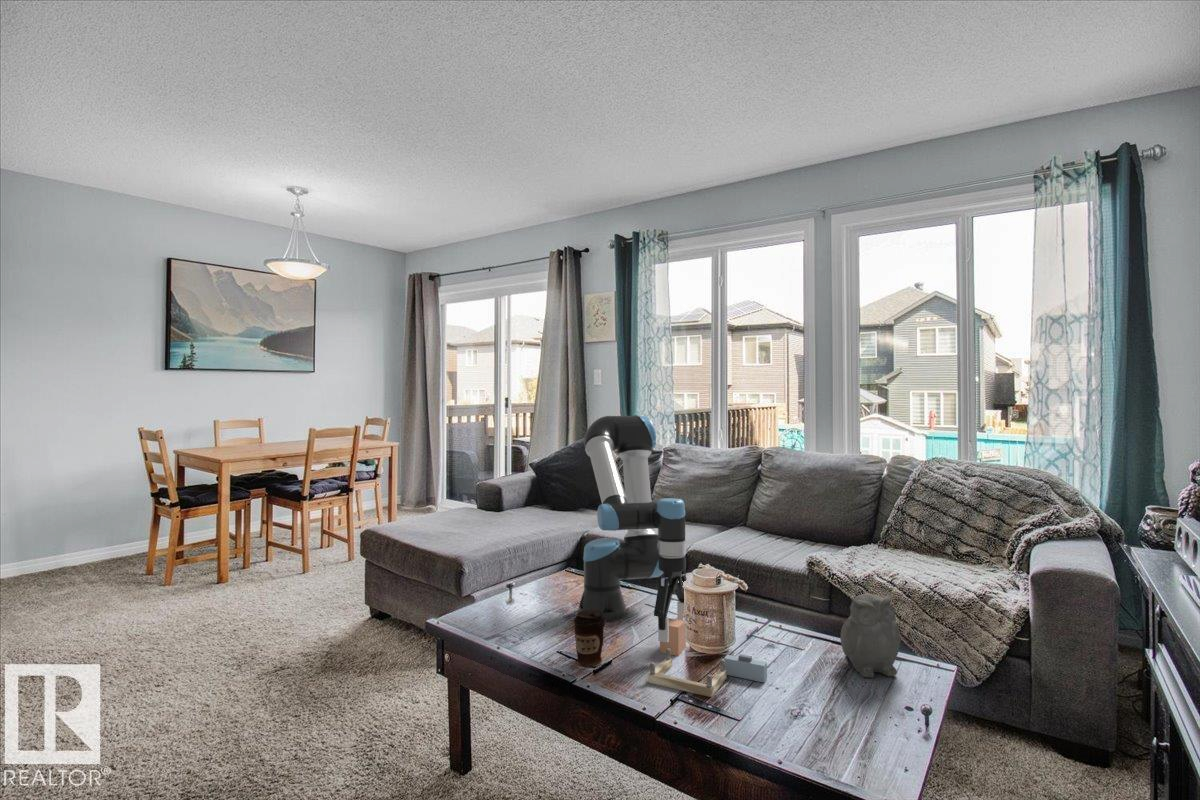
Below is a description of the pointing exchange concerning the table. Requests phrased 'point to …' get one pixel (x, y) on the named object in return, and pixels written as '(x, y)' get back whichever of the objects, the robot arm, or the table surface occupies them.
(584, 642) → the coffee cup
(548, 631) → the table surface
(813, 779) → the table surface
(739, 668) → the bar
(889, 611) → the figurine
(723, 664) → the cradle
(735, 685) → the table surface
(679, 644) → the block
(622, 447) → the robot arm
